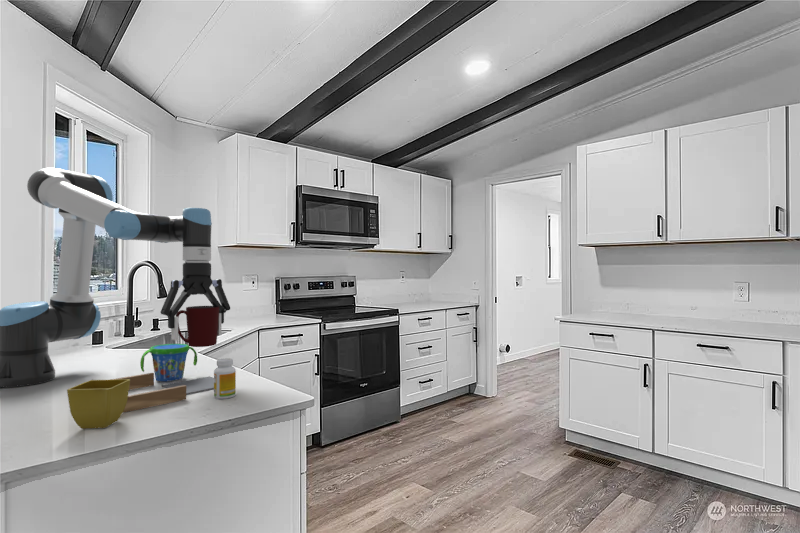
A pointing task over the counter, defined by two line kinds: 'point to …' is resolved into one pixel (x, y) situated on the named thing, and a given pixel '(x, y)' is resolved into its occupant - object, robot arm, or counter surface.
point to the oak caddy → (151, 393)
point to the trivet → (194, 385)
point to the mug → (201, 325)
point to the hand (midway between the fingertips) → (197, 337)
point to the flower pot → (98, 402)
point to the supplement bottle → (224, 379)
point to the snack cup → (168, 361)
